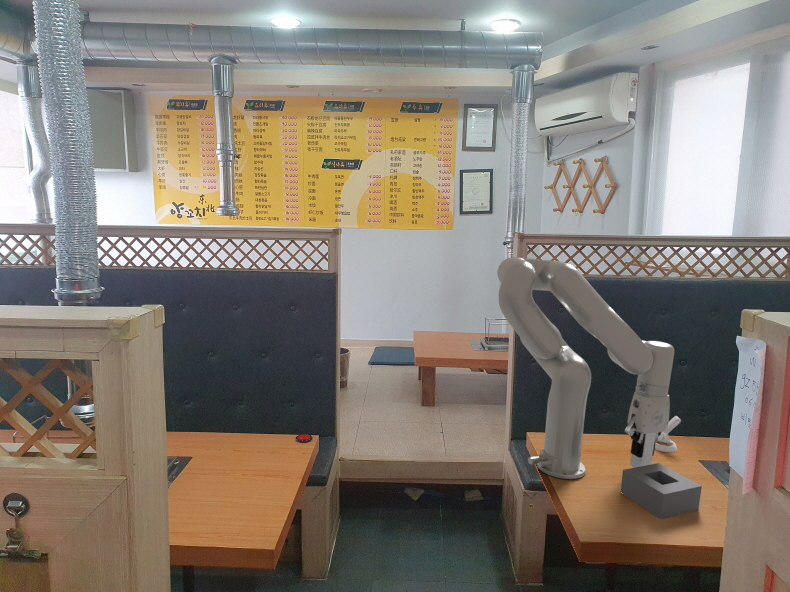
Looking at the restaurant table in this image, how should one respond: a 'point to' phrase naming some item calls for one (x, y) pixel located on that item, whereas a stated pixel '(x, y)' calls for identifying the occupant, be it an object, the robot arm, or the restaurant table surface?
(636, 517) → the restaurant table surface
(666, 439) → the hook
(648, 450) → the steel post
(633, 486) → the well block
